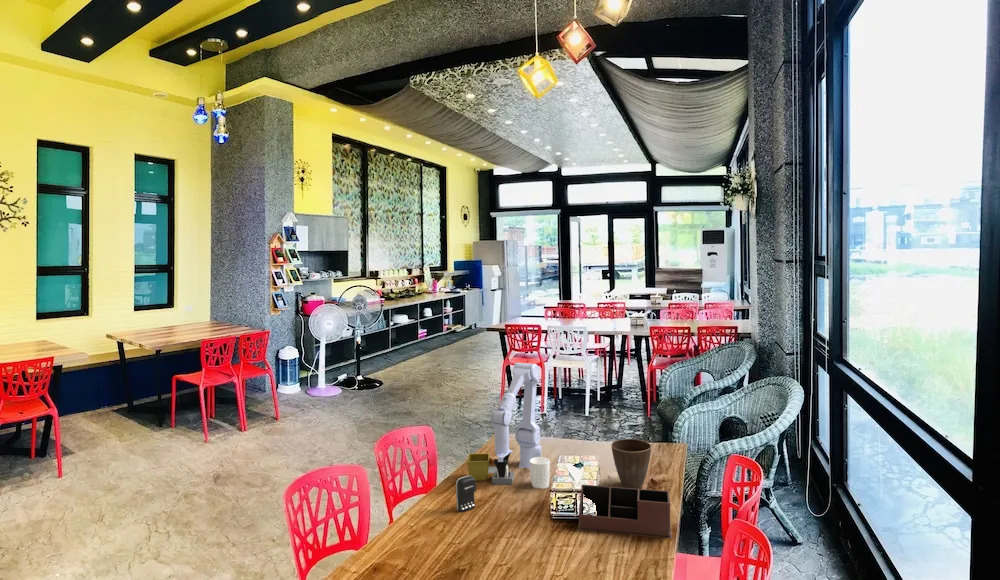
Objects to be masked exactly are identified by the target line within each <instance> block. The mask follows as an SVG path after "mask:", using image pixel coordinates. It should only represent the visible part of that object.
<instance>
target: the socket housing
mask: <svg viewBox="0 0 1000 580" xmlns="http://www.w3.org/2000/svg"><path fill="white" fill-rule="evenodd" d="M492 474H493V475H492V478H491V485H513V482H514V477H515V471H509V470H508V478H497V471H494V473H492Z"/></svg>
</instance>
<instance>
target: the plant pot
mask: <svg viewBox="0 0 1000 580" xmlns="http://www.w3.org/2000/svg"><path fill="white" fill-rule="evenodd" d="M611 452H612V456H613V462H614V467H615V470H616V473H617V475H618V478H619V481H620V483H621V485H622V488H634V489H643V485H644V483H645V480H646V477H647V474H648V469H649V464H650V460H651V452H652V444H650V442H648V441H645V440H641V439H634V438H627V439H626V438H624V439H618V440H615V441H613V442H611Z"/></svg>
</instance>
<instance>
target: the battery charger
mask: <svg viewBox="0 0 1000 580" xmlns="http://www.w3.org/2000/svg"><path fill="white" fill-rule="evenodd" d="M455 481H456V482H455V498H456V511H458V512H463V513H464V512H467V511H470V510H473V509H475V508H476V502H475V501H476V500H475V492H477V481H475V479H474V478H473V477H472V476H470V475H469V474H468V475H465V476H462V477H461V476H460V477H459V478H457V479H456V480H455Z"/></svg>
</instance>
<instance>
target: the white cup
mask: <svg viewBox="0 0 1000 580" xmlns="http://www.w3.org/2000/svg"><path fill="white" fill-rule="evenodd" d="M550 471H551V459H549V458H548V457H544V456H542V457H535V458H532V459H530V468H529V472H530V481H531V483H530V484H531V486H532V487H533V488H536V489H548V488H549V487H550V478H551V477H550V474H551V473H550Z"/></svg>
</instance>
